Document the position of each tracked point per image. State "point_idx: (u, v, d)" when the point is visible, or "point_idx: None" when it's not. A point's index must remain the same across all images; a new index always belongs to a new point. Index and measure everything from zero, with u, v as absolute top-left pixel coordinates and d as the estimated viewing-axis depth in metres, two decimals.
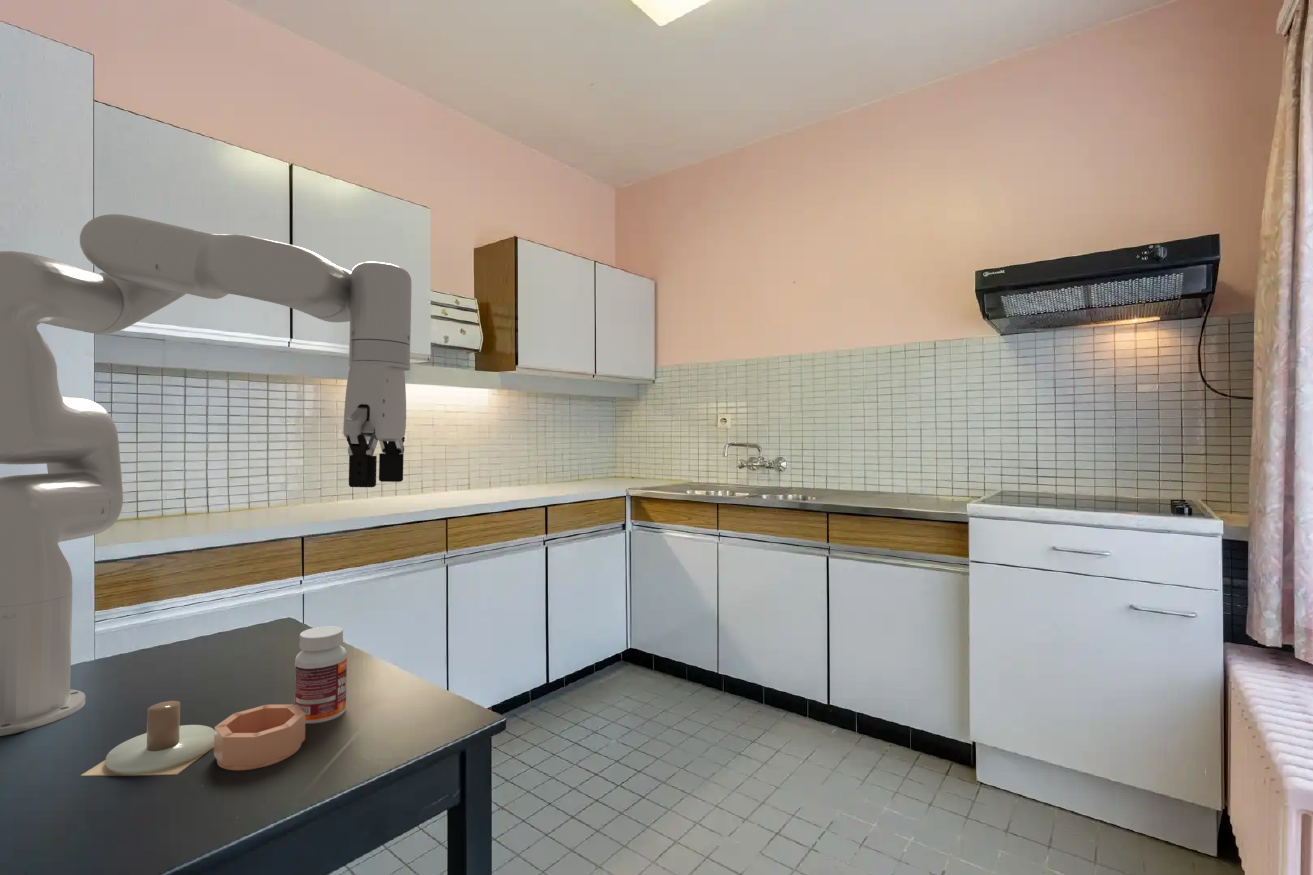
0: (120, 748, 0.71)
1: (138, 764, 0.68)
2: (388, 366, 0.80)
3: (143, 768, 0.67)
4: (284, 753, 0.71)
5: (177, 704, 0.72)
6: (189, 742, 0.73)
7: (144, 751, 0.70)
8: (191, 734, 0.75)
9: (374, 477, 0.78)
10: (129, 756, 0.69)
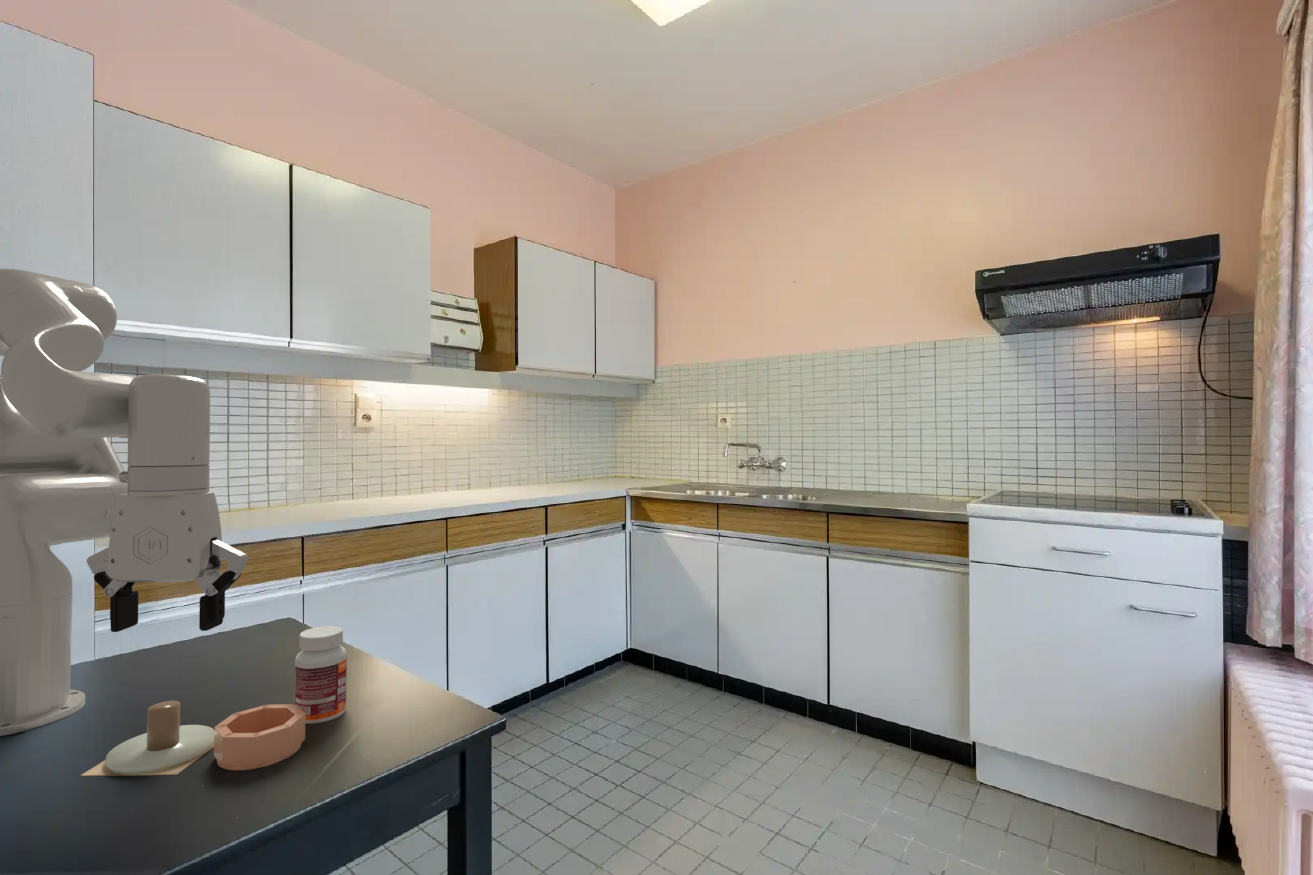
0: (120, 748, 0.71)
1: (138, 764, 0.68)
2: None
3: (143, 768, 0.67)
4: (284, 753, 0.71)
5: (177, 704, 0.72)
6: (189, 742, 0.73)
7: (144, 751, 0.70)
8: (191, 733, 0.75)
9: None
10: (129, 756, 0.69)
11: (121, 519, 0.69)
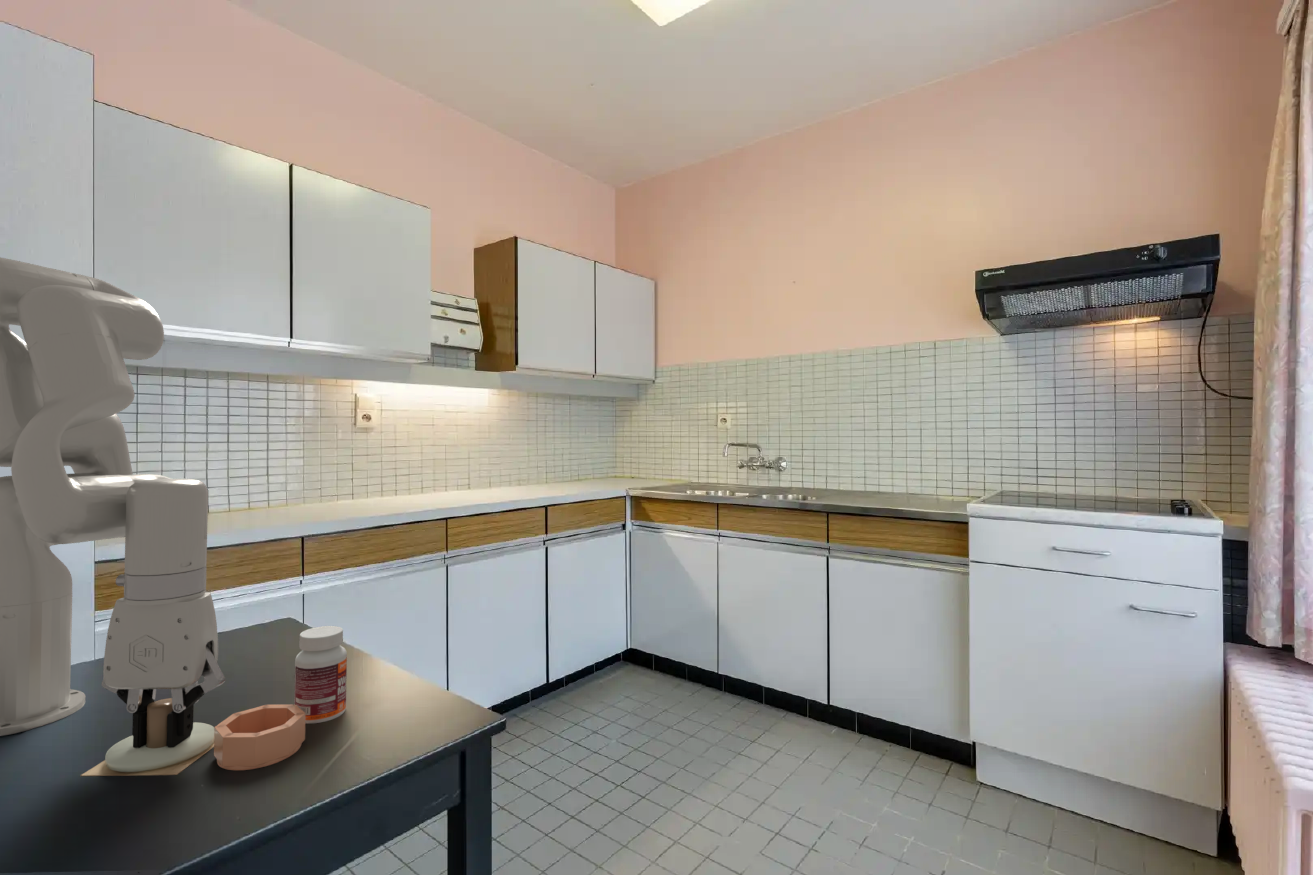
0: (120, 745, 0.71)
1: (137, 761, 0.68)
2: None
3: (142, 765, 0.67)
4: (284, 753, 0.71)
5: None
6: (189, 739, 0.73)
7: (144, 748, 0.70)
8: None
9: None
10: (129, 753, 0.69)
11: (117, 627, 0.69)
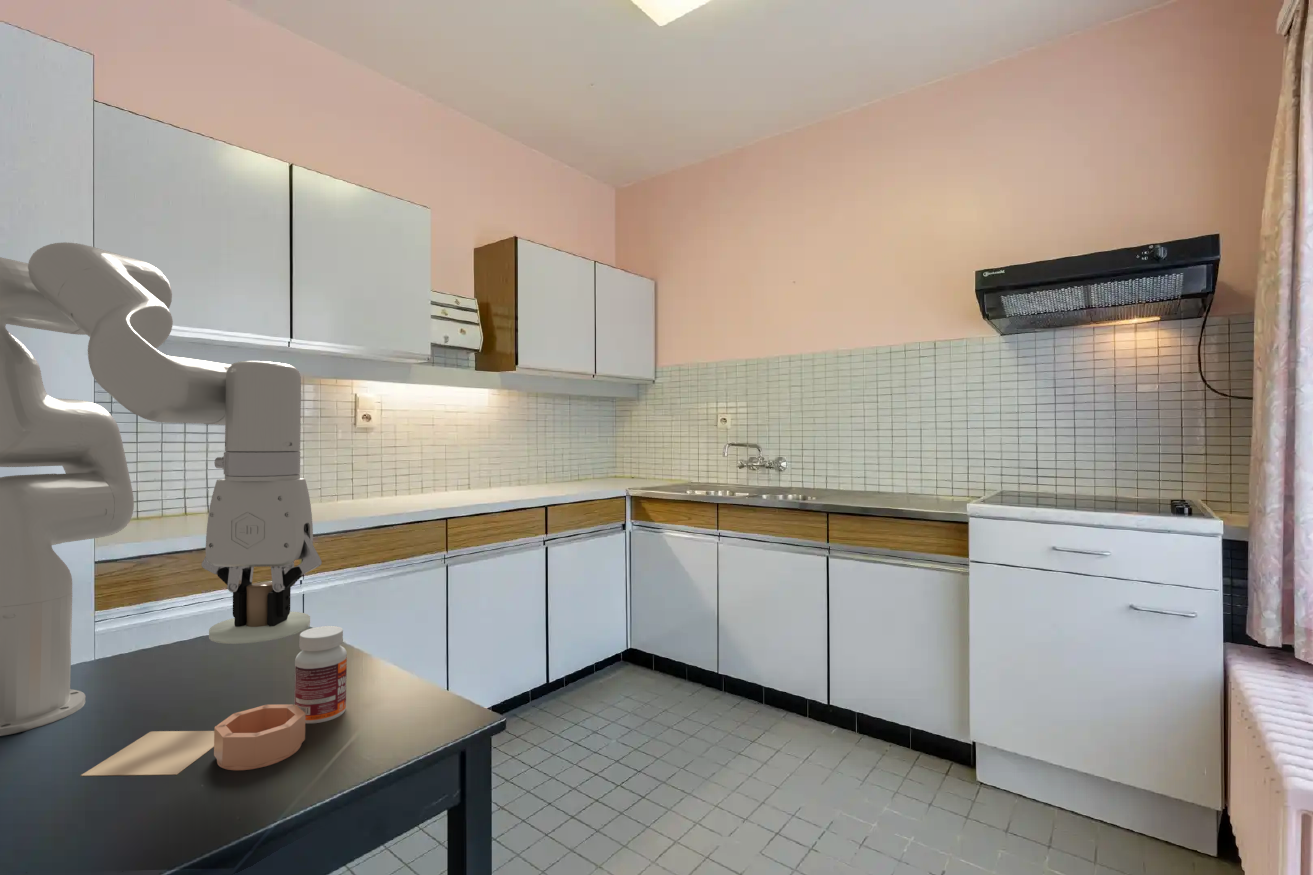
0: (220, 625, 0.71)
1: (242, 634, 0.68)
2: None
3: (248, 637, 0.68)
4: (284, 753, 0.71)
5: None
6: (286, 621, 0.73)
7: (245, 627, 0.71)
8: None
9: None
10: (231, 630, 0.70)
11: (219, 504, 0.70)
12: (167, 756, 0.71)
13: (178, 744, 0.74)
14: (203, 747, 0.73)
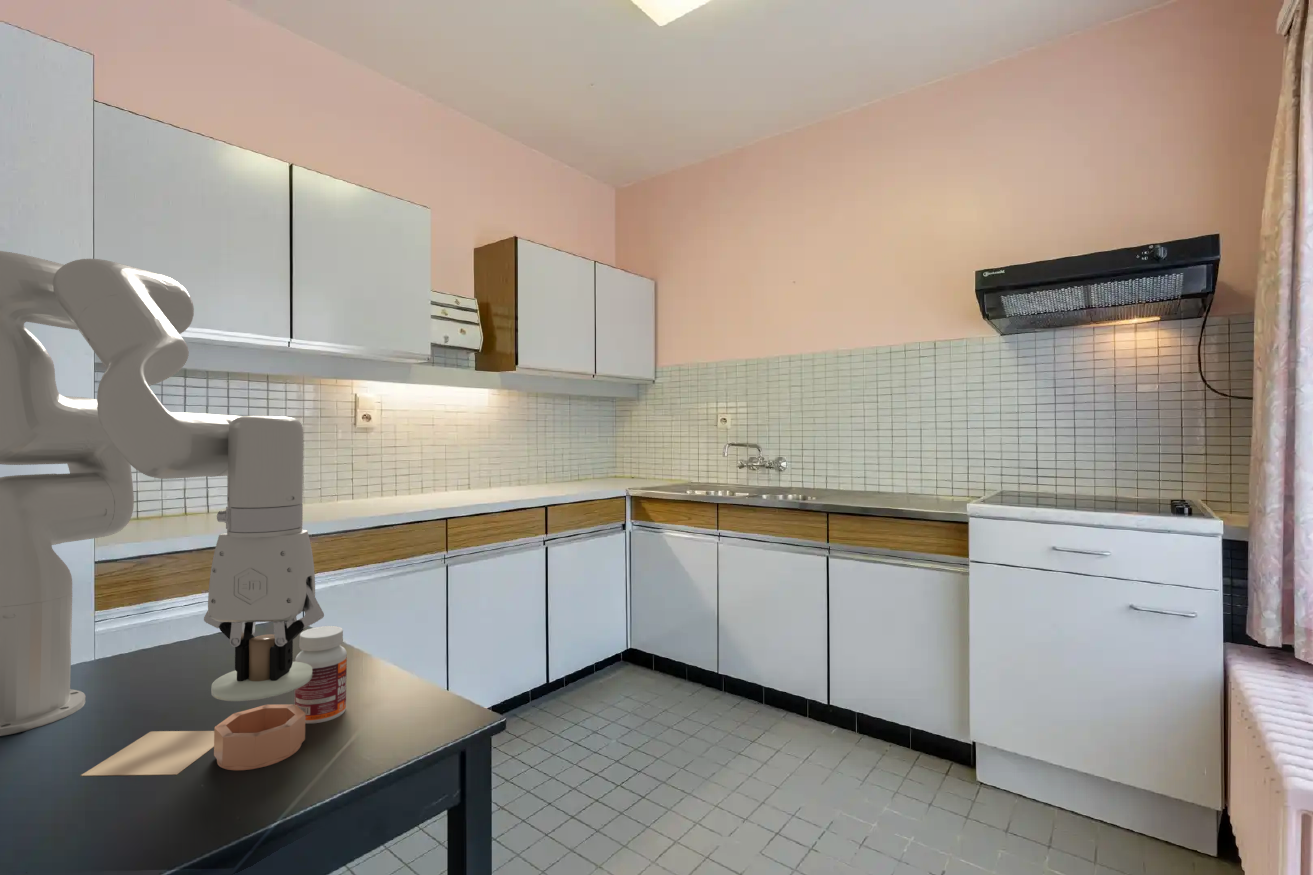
0: (222, 679, 0.71)
1: (245, 691, 0.68)
2: None
3: (251, 694, 0.68)
4: (284, 753, 0.71)
5: None
6: (289, 674, 0.73)
7: (247, 681, 0.71)
8: None
9: None
10: (234, 685, 0.70)
11: (221, 560, 0.70)
12: (167, 756, 0.71)
13: (178, 744, 0.74)
14: (203, 747, 0.73)
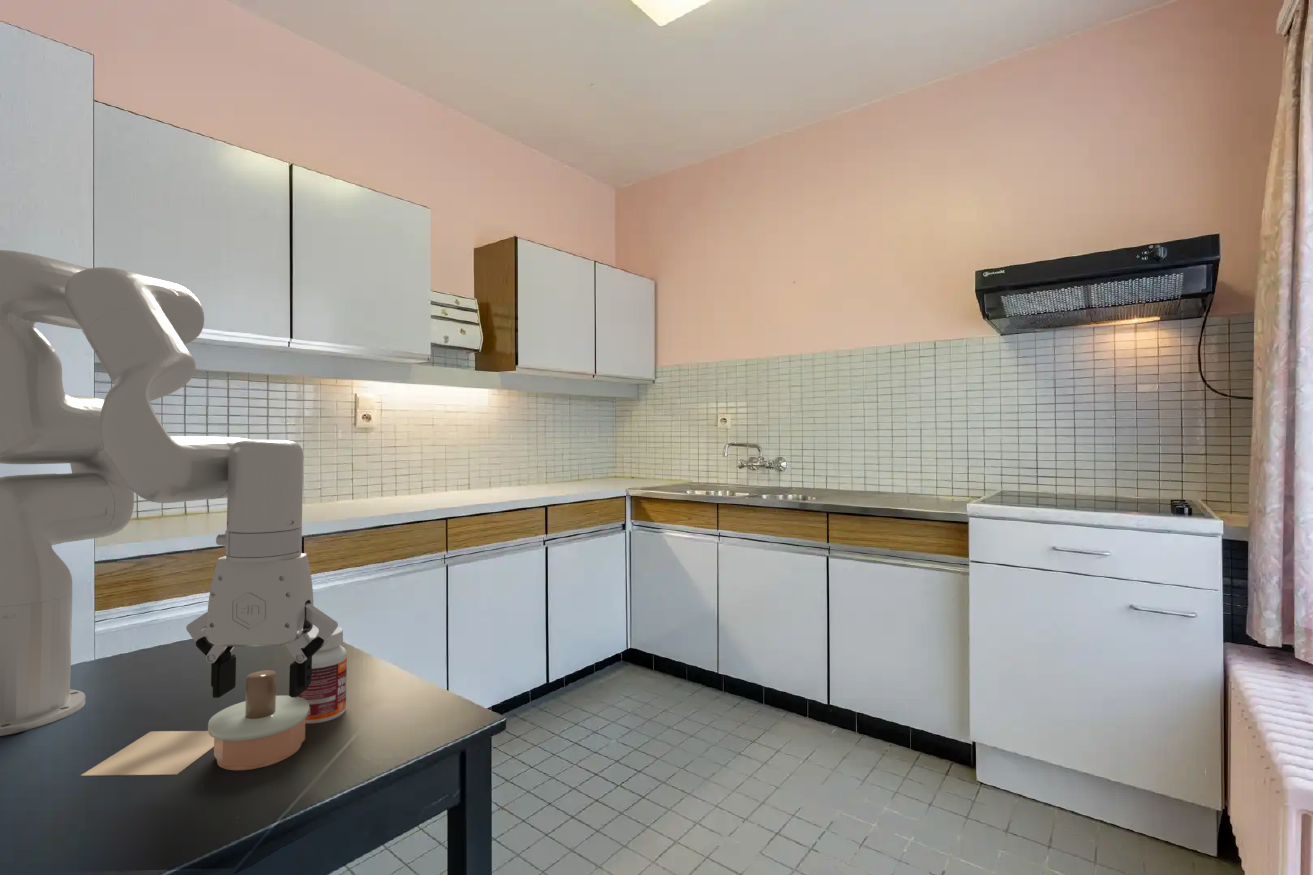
0: (219, 716, 0.71)
1: (242, 730, 0.68)
2: None
3: (247, 734, 0.68)
4: (284, 753, 0.71)
5: (274, 673, 0.73)
6: (285, 711, 0.73)
7: (244, 719, 0.71)
8: (284, 703, 0.75)
9: None
10: (230, 723, 0.70)
11: (220, 584, 0.70)
12: (167, 756, 0.71)
13: (178, 744, 0.74)
14: (203, 747, 0.73)
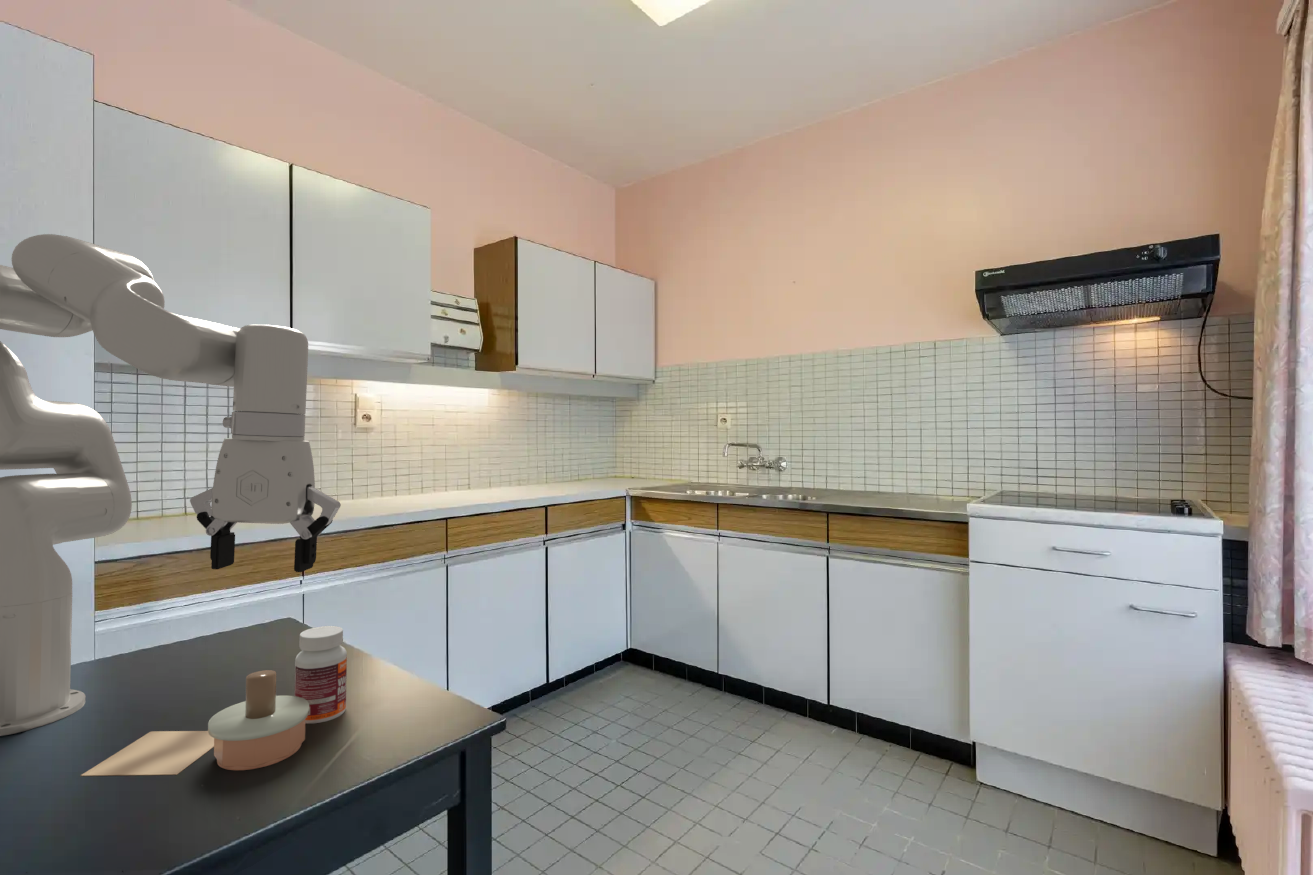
0: (219, 716, 0.71)
1: (242, 730, 0.68)
2: None
3: (247, 734, 0.68)
4: (284, 753, 0.71)
5: (274, 673, 0.73)
6: (285, 711, 0.73)
7: (244, 719, 0.71)
8: (284, 703, 0.75)
9: None
10: (230, 723, 0.70)
11: (225, 462, 0.72)
12: (167, 756, 0.71)
13: (178, 744, 0.74)
14: (203, 747, 0.73)
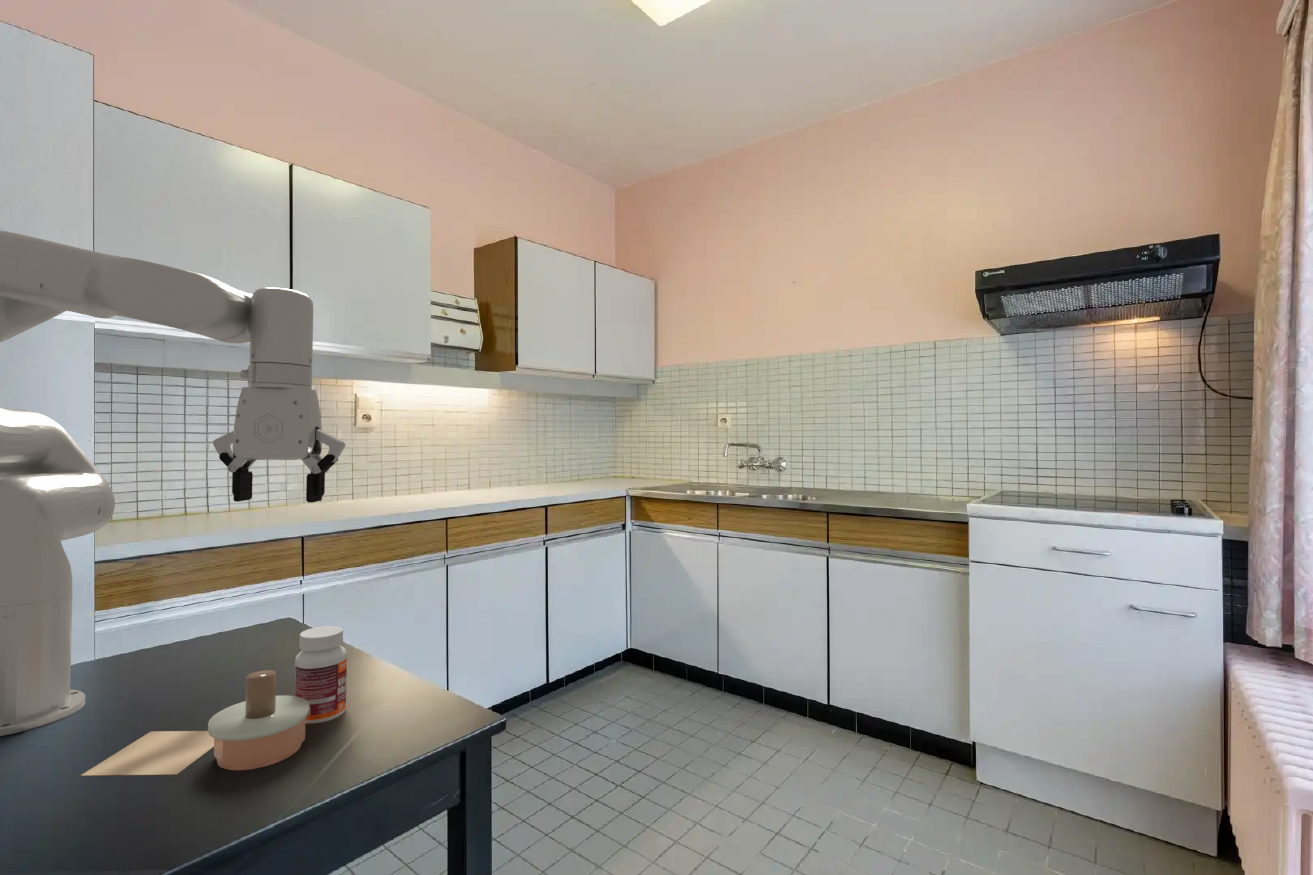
0: (219, 716, 0.71)
1: (242, 730, 0.68)
2: None
3: (247, 734, 0.68)
4: (284, 753, 0.71)
5: (274, 673, 0.73)
6: (285, 711, 0.73)
7: (244, 719, 0.71)
8: (284, 703, 0.75)
9: None
10: (230, 723, 0.70)
11: (244, 407, 0.83)
12: (167, 756, 0.71)
13: (178, 744, 0.74)
14: (203, 747, 0.73)
